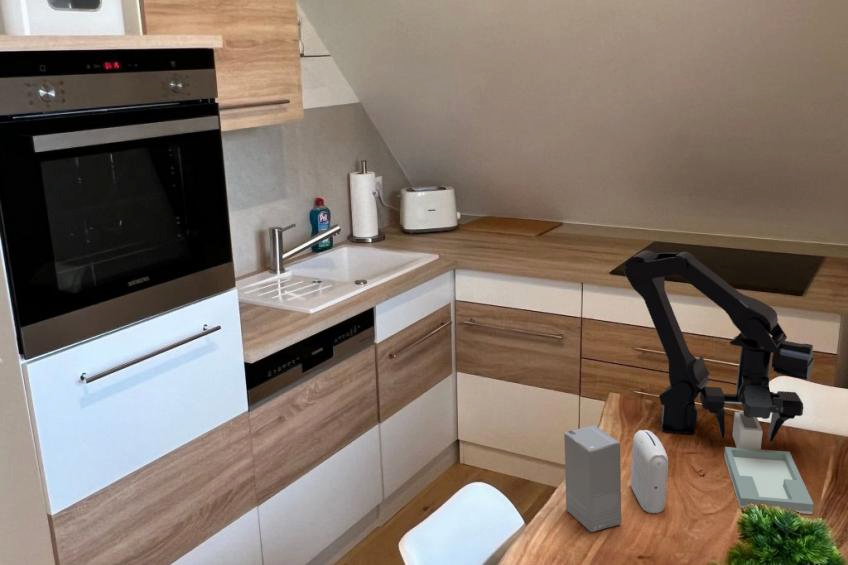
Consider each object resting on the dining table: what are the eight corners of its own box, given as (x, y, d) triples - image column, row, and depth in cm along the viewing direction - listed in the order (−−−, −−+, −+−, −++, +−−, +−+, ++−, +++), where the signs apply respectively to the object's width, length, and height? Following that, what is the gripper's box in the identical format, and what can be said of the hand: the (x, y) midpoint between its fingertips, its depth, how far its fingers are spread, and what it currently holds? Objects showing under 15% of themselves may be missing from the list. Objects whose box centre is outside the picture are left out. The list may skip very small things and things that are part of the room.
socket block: (738, 454, 164) (741, 428, 162) (732, 435, 172) (734, 410, 170) (759, 455, 163) (762, 429, 162) (752, 437, 171) (755, 412, 169)
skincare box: (621, 525, 141) (626, 442, 136) (586, 535, 138) (590, 451, 134) (594, 501, 148) (598, 421, 144) (560, 509, 146) (563, 429, 141)
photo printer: (667, 513, 144) (672, 450, 141) (643, 514, 144) (647, 451, 140) (650, 483, 154) (654, 423, 150) (627, 483, 154) (631, 424, 150)
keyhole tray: (740, 507, 145) (741, 498, 145) (724, 455, 163) (725, 446, 163) (812, 514, 143) (813, 504, 143) (788, 460, 161) (789, 451, 160)
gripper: (710, 381, 157) (703, 454, 161) (814, 387, 153) (804, 462, 158) (702, 359, 167) (696, 428, 172) (800, 365, 164) (791, 435, 168)
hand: (746, 439), depth 167 cm, fingers open, 9 cm apart
